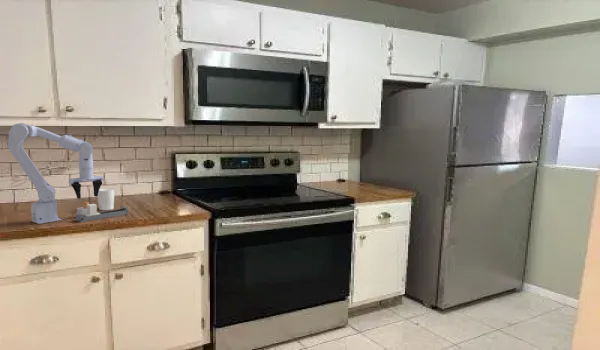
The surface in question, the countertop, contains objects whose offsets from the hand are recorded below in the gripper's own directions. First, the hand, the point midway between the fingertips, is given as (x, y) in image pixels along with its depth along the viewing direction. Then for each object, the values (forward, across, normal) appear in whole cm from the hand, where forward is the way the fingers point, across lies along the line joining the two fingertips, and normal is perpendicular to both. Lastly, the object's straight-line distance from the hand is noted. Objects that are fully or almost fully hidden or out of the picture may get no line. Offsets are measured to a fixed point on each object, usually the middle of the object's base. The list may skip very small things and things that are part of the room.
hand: (87, 197), depth 187 cm
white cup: (+10, +14, +11) cm, 21 cm away
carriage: (+8, -1, -5) cm, 10 cm away
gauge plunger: (+7, 0, +3) cm, 8 cm away
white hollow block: (+9, 0, +3) cm, 10 cm away
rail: (+9, +4, -5) cm, 11 cm away
